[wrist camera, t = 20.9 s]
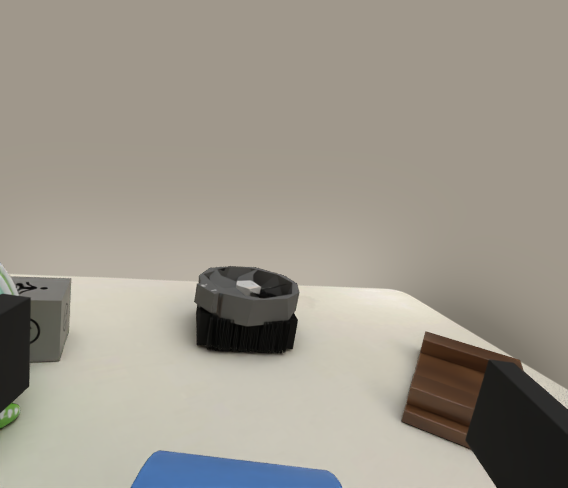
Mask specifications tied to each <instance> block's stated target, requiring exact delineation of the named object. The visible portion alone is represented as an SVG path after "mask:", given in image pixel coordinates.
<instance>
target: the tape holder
mask: <svg viewBox="0 0 568 488" xmlns="http://www.w3.org/2000/svg"><path fill="white" fill-rule="evenodd" d="M489 359H490V360H498V361H505V362H513V363H515V364H516V365H517V366H518V367H519V368H521V369H522V370H523V368H522V365H521V361H520V360H518V359H515V358H512V357H508V356H505V355H502V354H498V353H495V352H492V351H489V350H485V349H482V348H479V347H475V346H472V345H469V344H466V343H462V342H459V341H456V340H452V339H449V338H446V337H442V336H439V335H436V334H433V333H429V332H425V335H424V339H423V343H422V347H421V351H420V354H419V358H418V362H417V365H416V369H415V373H414V375H413V379H412V382H411V386H410V390H409V394H408V398H407V402H406V405H405V409H404V413H403V417H402V422H404V423H407V424H409V425H412V426H414V427H417V428H419V429H422V430H425V431H427V432H430V433H432V434H435V435H437V436H440V437H442V438H445V439H447V440H450V441H452V442H455V443H457V444H460V445H462V446H465V447H467V448H470V447H469V445H468V444H467V442H466V441H465V439H466V436H467V432H468V429H469V425H470V422H471V419H472V415H473V412H474V408H475V405H476V401H477V398H478V395H479V391H480V388H481V384H482V381H483V378H484V374H485V371H486V367H487V364H488V360H489ZM470 449H471V448H470Z"/></svg>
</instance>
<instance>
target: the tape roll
mask: <svg viewBox="0 0 568 488" xmlns="http://www.w3.org/2000/svg"><path fill="white" fill-rule="evenodd" d="M131 488H342V486H341V484H340V482H339V481H338V479H337V478H336V477H335V475H334V474H332V473H330V472H329V471H327V470H318V469H310V468H302V467H293V466H285V465H277V464H269V463H260V462H252V461H244V460H235V459H227V458H219V457H210V456H202V455H194V454H186V453H177V452H169V451H161V450H160V451H157V452H155V453H153V454H152V455H151V456H150V457H149V458H148V460H147V461H146V463H145V464H144V466H143V467H142V468H141V470H140V472H139V473H138V475H137V477H136V479H135V481H134V482H133V484H132V486H131Z"/></svg>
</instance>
